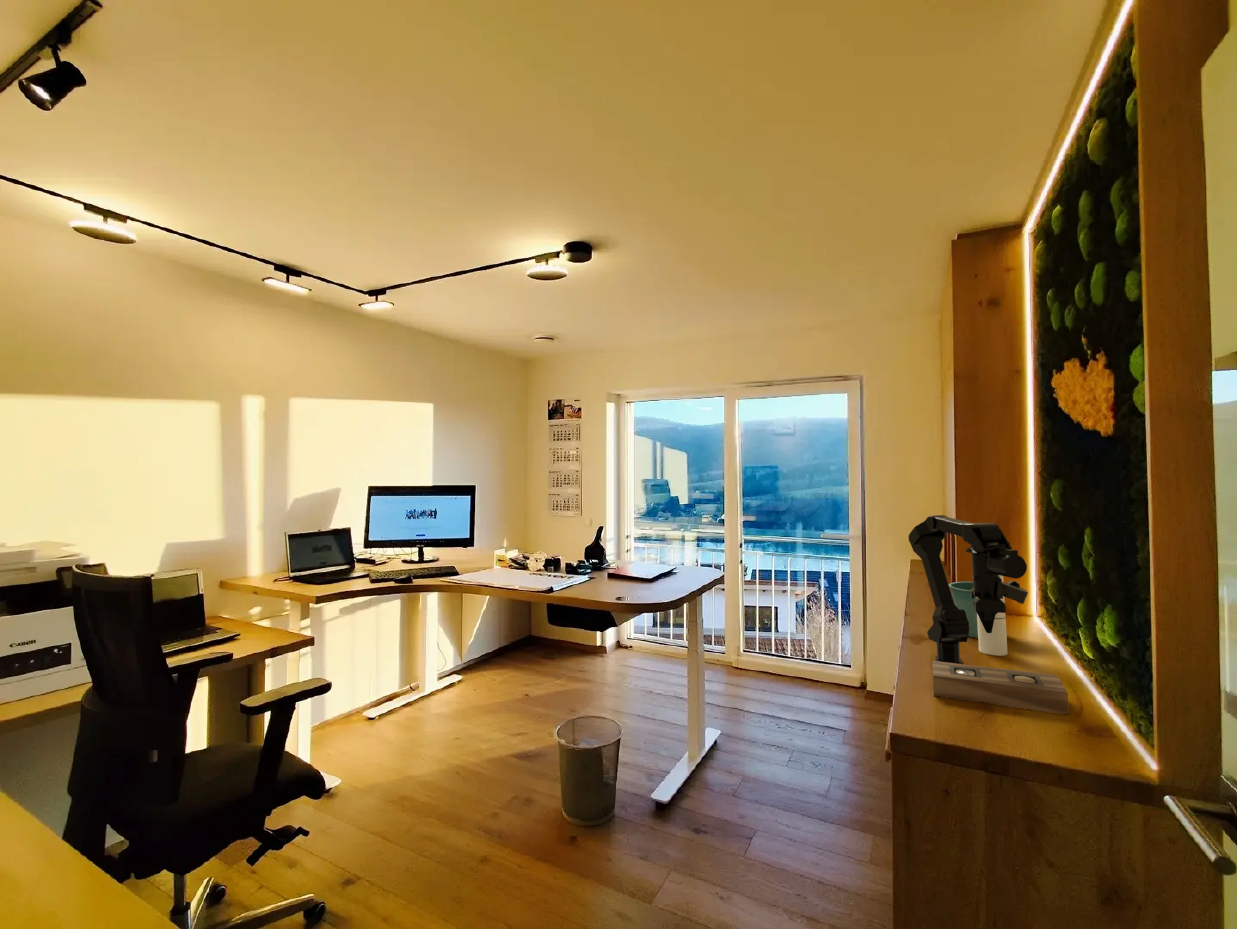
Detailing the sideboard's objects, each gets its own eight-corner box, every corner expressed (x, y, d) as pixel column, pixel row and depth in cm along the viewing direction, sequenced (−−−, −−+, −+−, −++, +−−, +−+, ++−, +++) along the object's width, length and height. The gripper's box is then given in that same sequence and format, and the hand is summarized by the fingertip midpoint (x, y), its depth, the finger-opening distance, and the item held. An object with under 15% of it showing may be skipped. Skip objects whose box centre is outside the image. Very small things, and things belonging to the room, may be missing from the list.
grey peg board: (933, 679, 145) (932, 660, 145) (1057, 695, 132) (1056, 675, 132) (933, 696, 135) (932, 675, 135) (1068, 715, 122) (1067, 692, 122)
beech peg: (1014, 695, 133) (1013, 675, 133) (1034, 697, 131) (1033, 677, 131) (1016, 701, 130) (1015, 680, 130) (1037, 704, 128) (1036, 683, 128)
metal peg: (956, 687, 139) (955, 668, 139) (975, 689, 137) (974, 670, 137) (957, 693, 136) (956, 673, 136) (976, 695, 134) (975, 675, 134)
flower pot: (983, 643, 174) (980, 592, 175) (939, 630, 190) (937, 583, 190) (1021, 638, 179) (1019, 588, 179) (976, 625, 195) (974, 580, 195)
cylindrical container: (998, 648, 169) (994, 566, 170) (1012, 655, 162) (1008, 570, 163) (974, 648, 170) (969, 567, 171) (987, 655, 163) (982, 570, 164)
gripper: (1030, 579, 130) (1033, 646, 130) (1018, 568, 146) (1021, 627, 146) (974, 577, 136) (977, 641, 135) (969, 566, 152) (971, 622, 151)
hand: (988, 632), depth 142 cm, fingers closed
